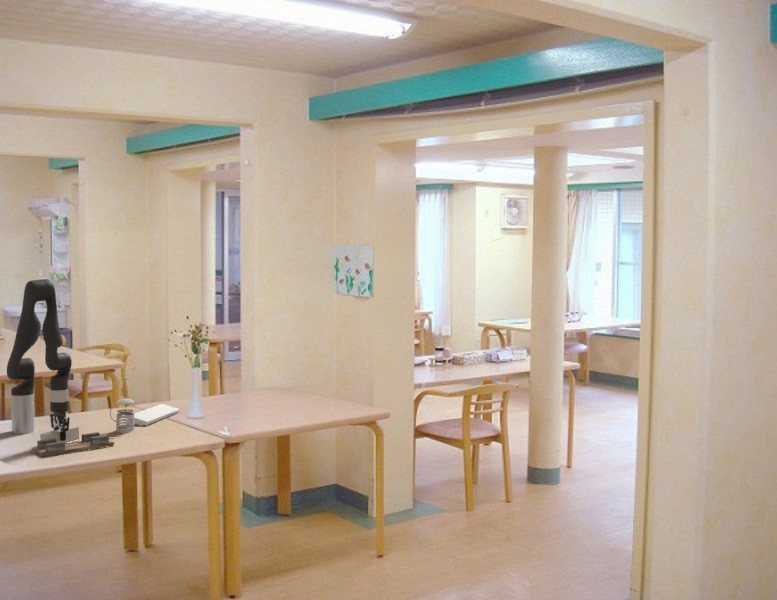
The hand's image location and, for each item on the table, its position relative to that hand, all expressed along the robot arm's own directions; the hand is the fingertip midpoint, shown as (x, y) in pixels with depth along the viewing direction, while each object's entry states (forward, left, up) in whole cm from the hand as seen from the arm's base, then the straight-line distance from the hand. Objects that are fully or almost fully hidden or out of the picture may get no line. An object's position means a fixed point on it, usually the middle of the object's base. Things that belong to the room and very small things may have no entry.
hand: (60, 439), depth 378 cm
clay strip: (0, 0, -2) cm, 2 cm away
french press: (-5, +32, -2) cm, 32 cm away
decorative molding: (-16, +59, -2) cm, 61 cm away
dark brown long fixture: (+13, 0, -2) cm, 13 cm away
